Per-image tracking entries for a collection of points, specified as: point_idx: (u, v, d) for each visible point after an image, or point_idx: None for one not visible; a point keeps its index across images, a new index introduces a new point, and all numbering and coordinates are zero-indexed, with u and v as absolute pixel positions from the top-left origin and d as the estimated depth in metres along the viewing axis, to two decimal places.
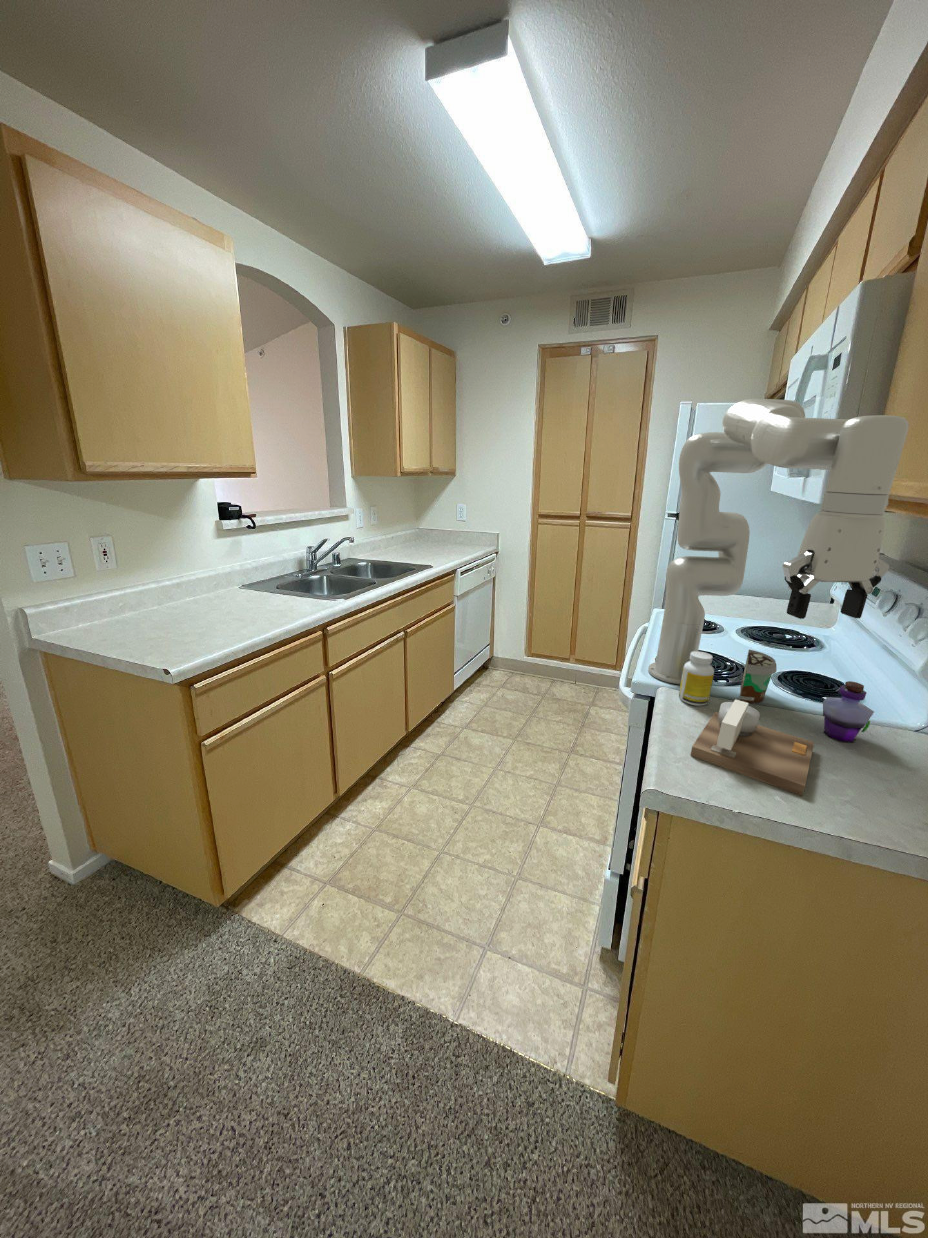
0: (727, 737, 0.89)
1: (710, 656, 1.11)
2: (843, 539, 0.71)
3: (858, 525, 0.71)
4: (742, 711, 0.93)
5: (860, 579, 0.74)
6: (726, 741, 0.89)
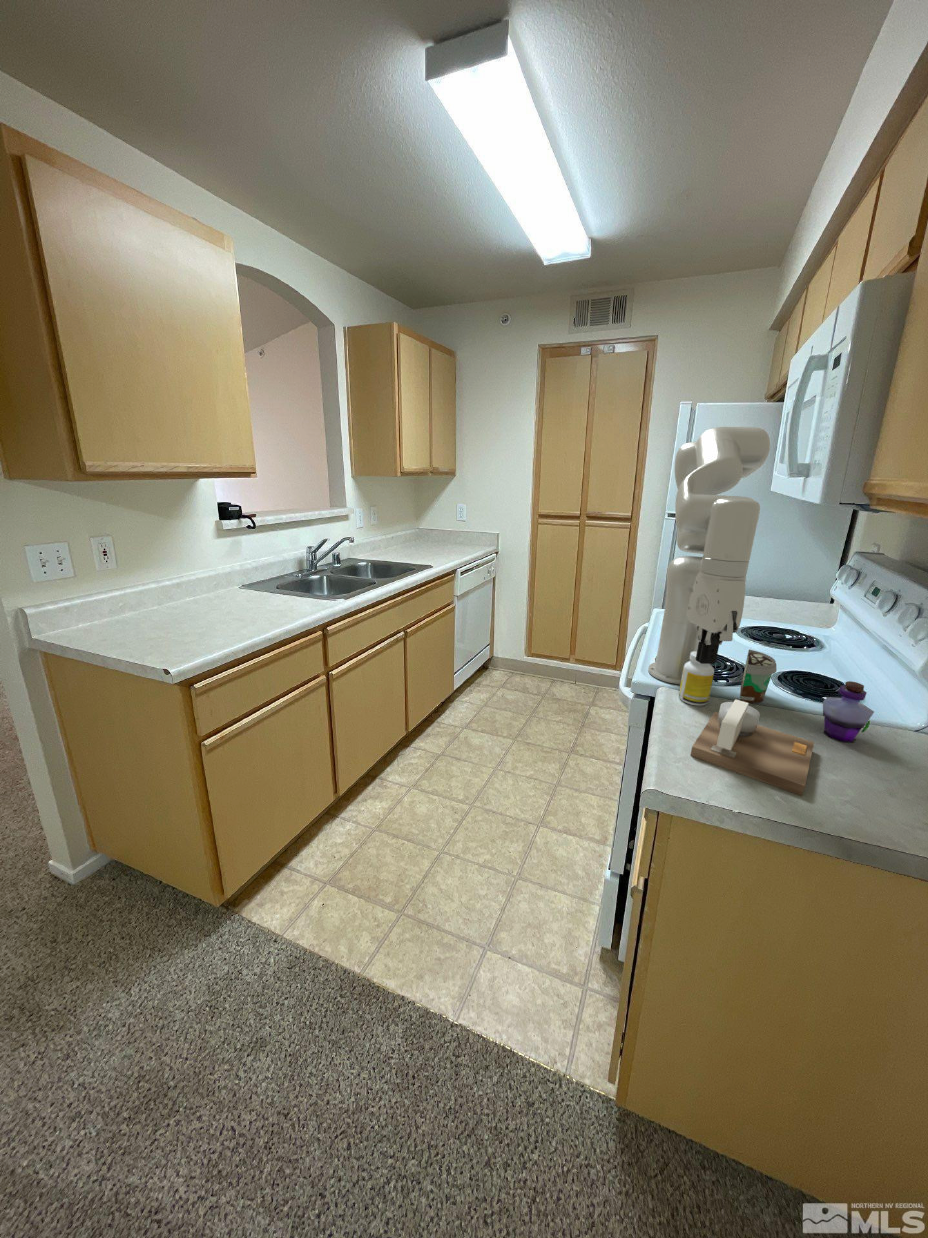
0: (727, 737, 0.89)
1: None
2: None
3: None
4: (742, 711, 0.93)
5: None
6: (726, 741, 0.89)
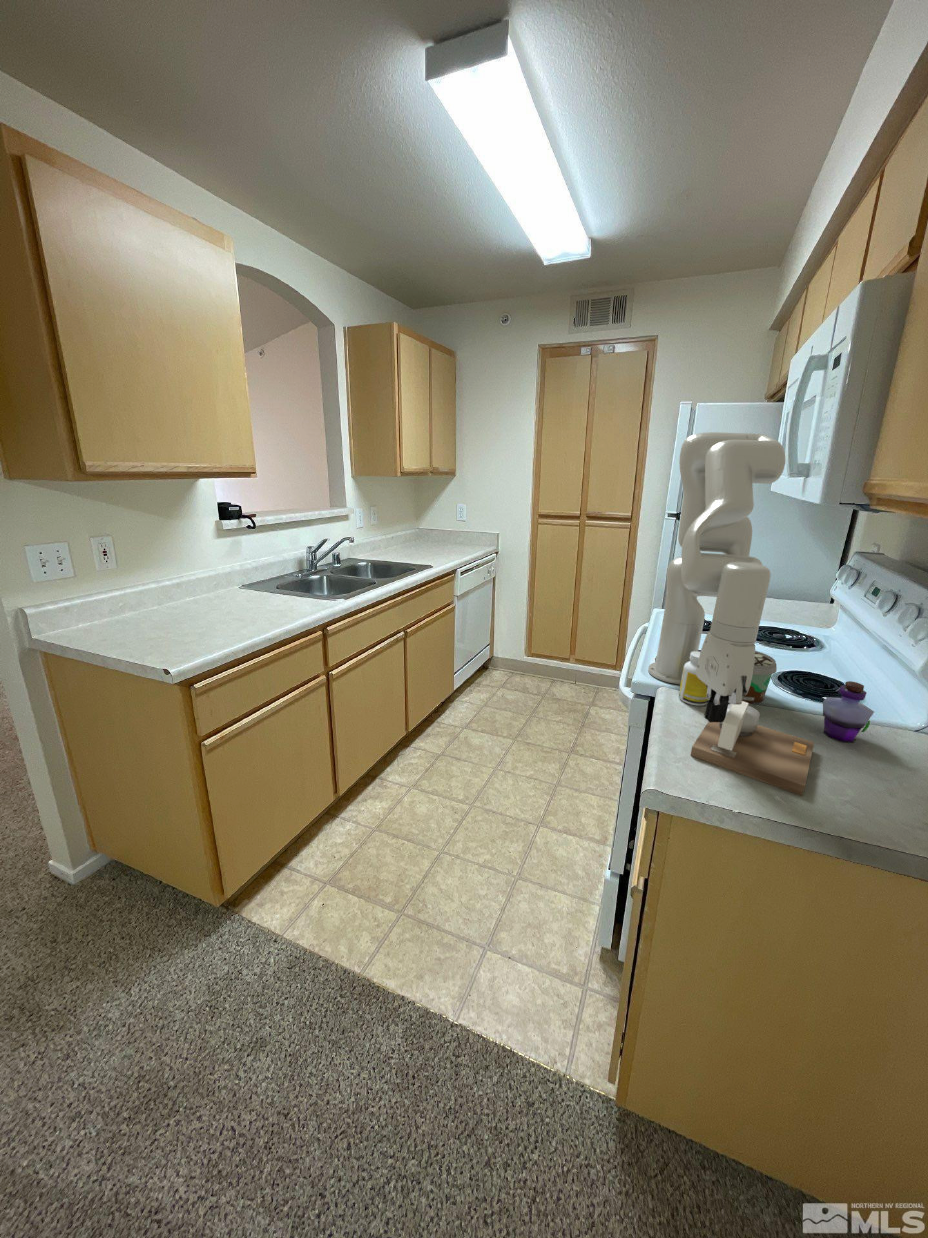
0: (728, 737, 0.89)
1: None
2: None
3: None
4: (742, 711, 0.93)
5: None
6: (727, 741, 0.89)
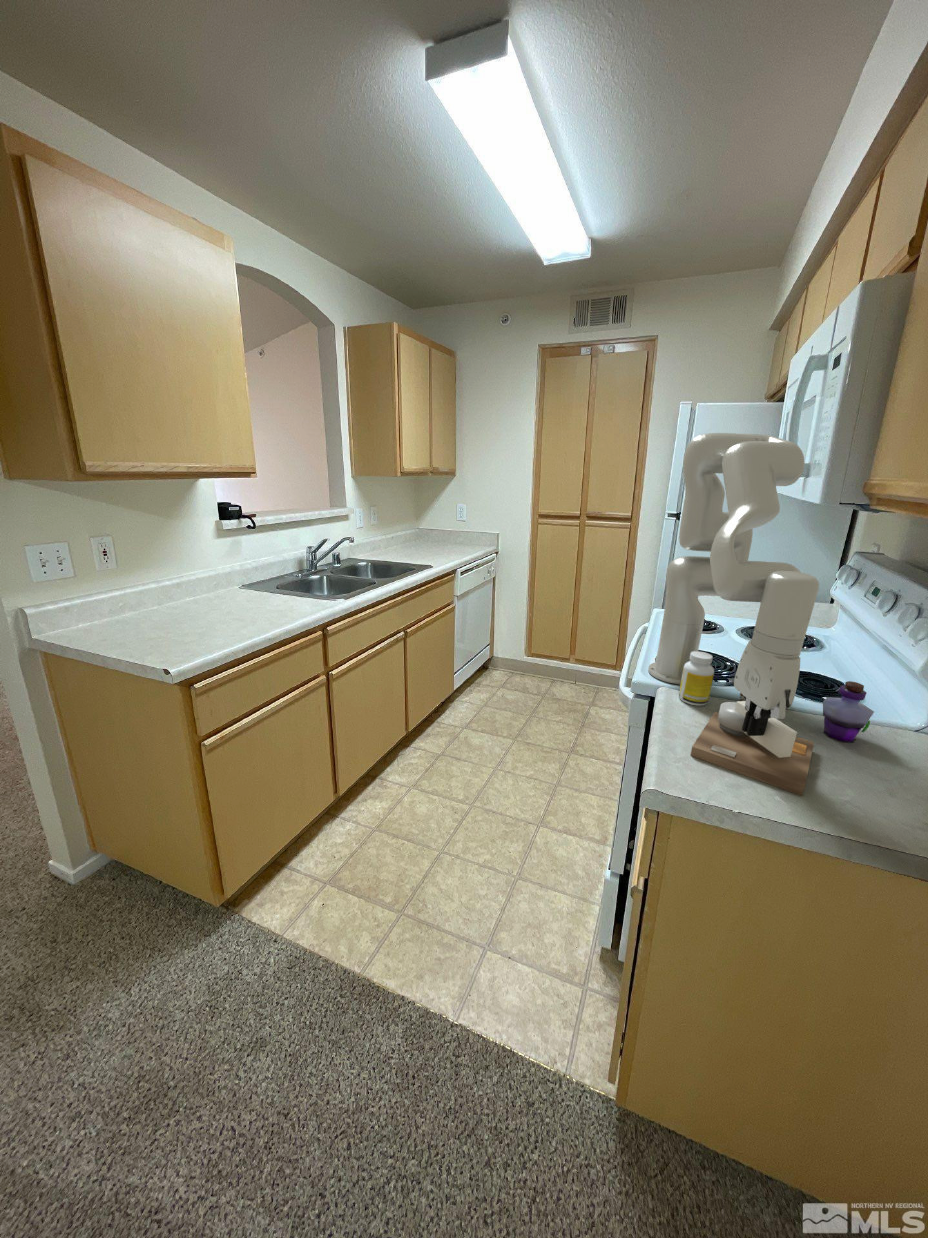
0: (788, 745, 0.87)
1: (710, 656, 1.11)
2: None
3: None
4: None
5: None
6: (787, 749, 0.87)
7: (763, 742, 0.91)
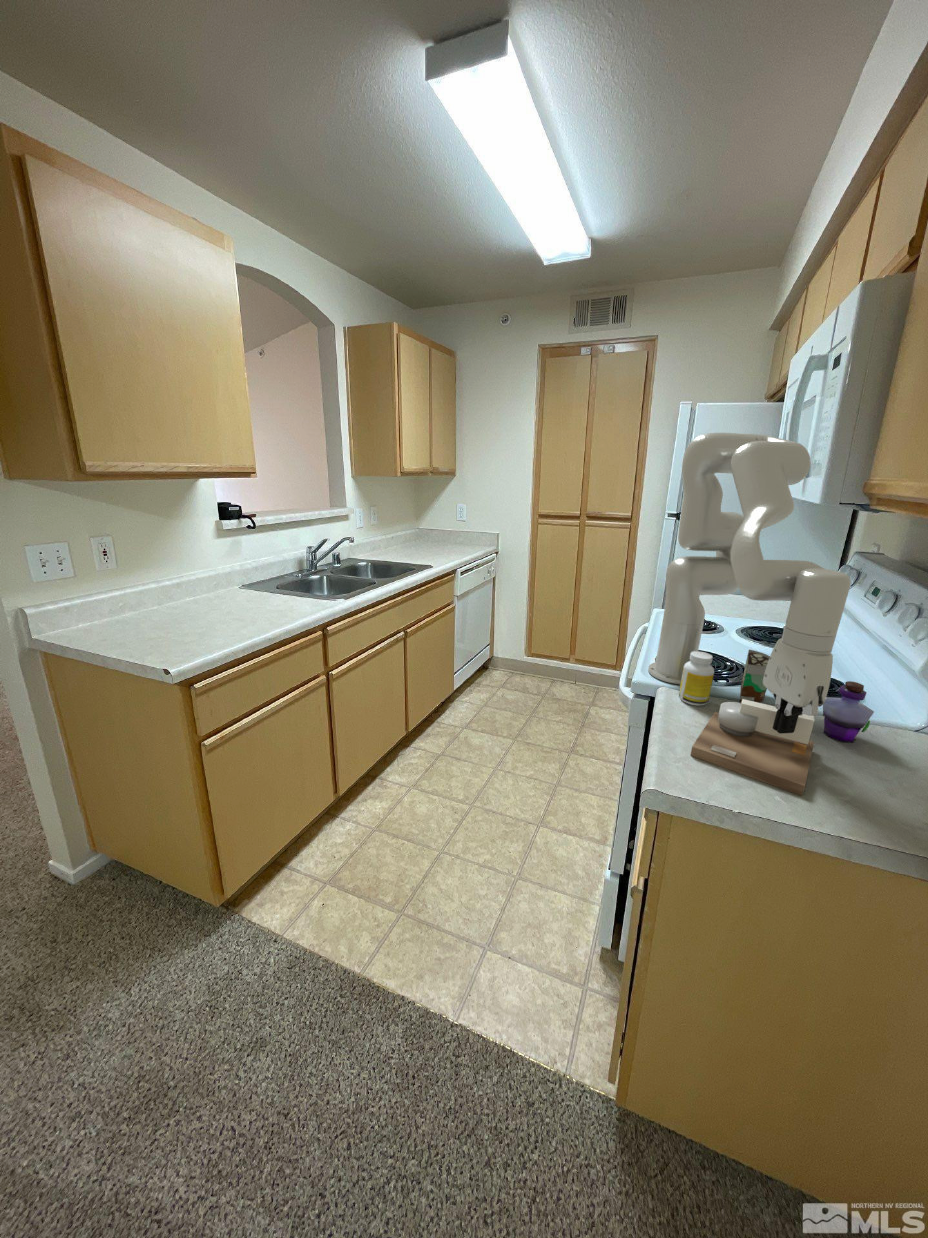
0: None
1: (710, 656, 1.11)
2: None
3: None
4: (769, 705, 0.96)
5: None
6: None
7: (784, 734, 0.94)
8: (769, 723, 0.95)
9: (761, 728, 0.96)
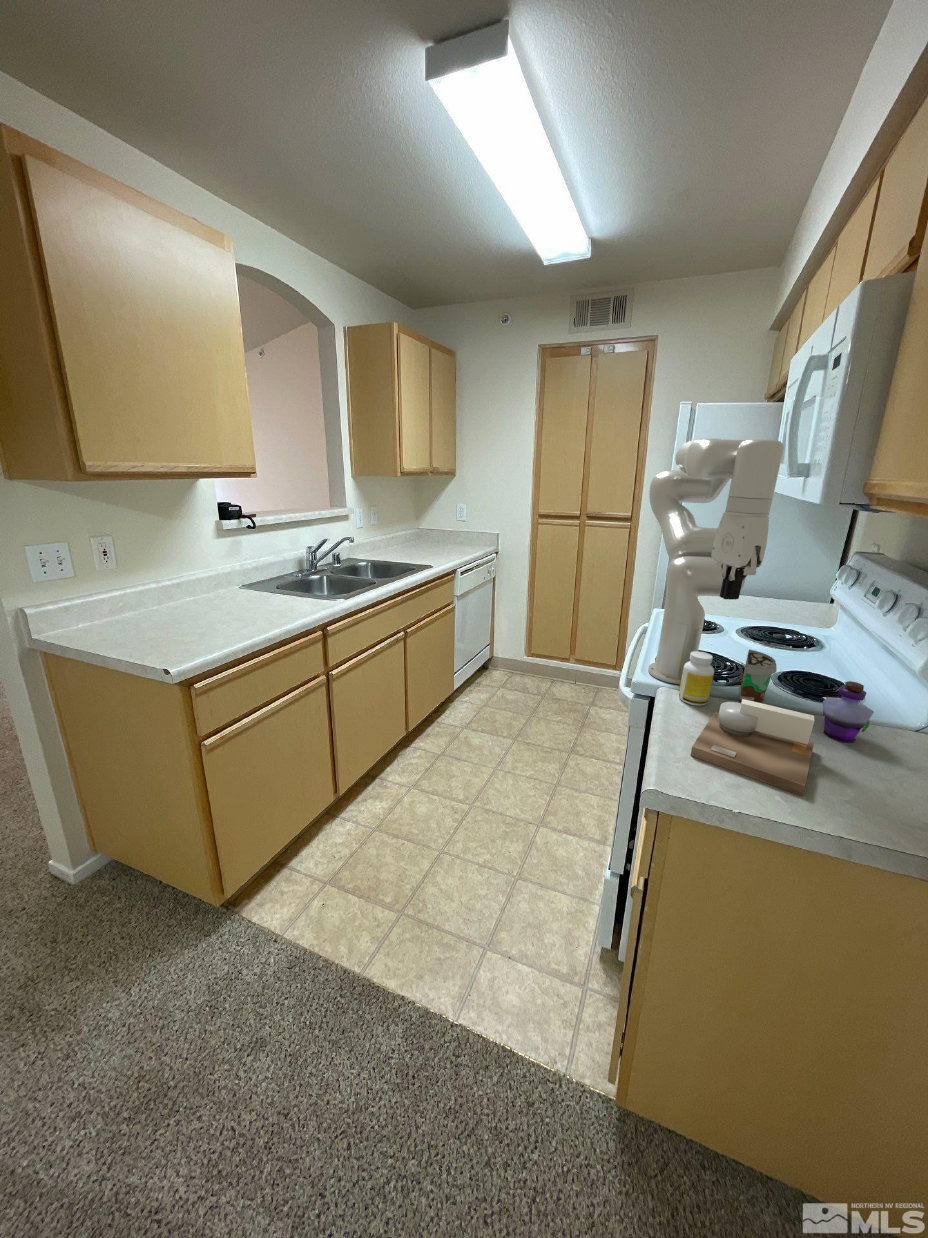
0: None
1: (710, 656, 1.11)
2: None
3: None
4: (769, 705, 0.96)
5: None
6: None
7: (784, 734, 0.94)
8: (769, 723, 0.95)
9: (761, 728, 0.96)
